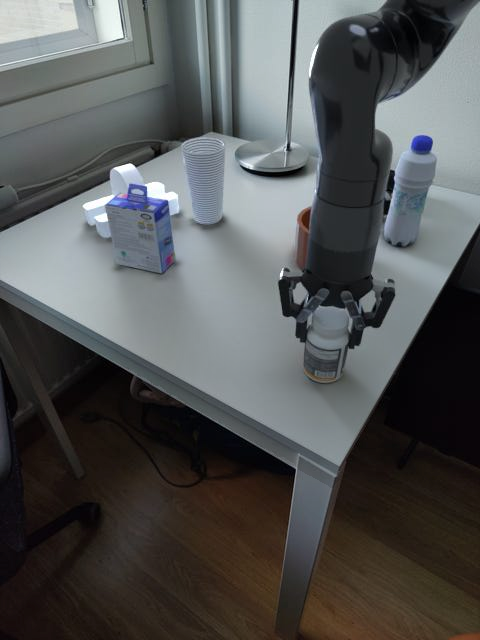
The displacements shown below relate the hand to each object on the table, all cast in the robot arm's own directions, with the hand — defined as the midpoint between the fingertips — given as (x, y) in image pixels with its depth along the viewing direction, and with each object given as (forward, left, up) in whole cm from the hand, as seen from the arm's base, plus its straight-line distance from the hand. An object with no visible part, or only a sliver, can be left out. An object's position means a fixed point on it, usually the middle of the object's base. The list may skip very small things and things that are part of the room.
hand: (327, 341), depth 61 cm
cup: (+27, -39, -6) cm, 48 cm away
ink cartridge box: (+34, -21, -6) cm, 40 cm away
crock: (+1, -28, -6) cm, 29 cm away
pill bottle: (0, 0, -6) cm, 6 cm away
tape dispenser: (+43, -37, -6) cm, 57 cm away
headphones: (-7, -51, -6) cm, 52 cm away
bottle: (-12, -37, -6) cm, 39 cm away
